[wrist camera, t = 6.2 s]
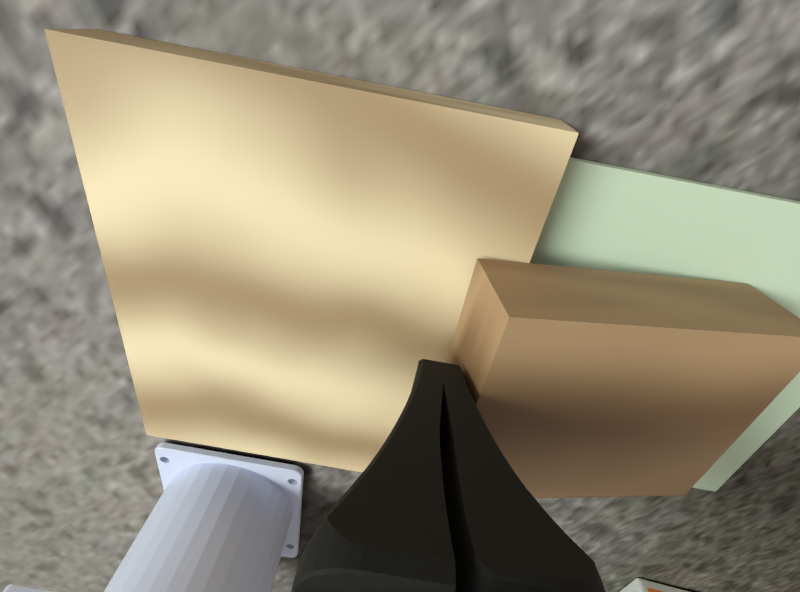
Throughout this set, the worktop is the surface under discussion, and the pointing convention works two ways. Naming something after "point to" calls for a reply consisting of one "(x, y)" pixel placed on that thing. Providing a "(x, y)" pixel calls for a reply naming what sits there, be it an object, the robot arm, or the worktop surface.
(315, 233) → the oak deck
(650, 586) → the skincare box
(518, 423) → the walnut tile
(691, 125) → the worktop surface
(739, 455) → the sage mat
